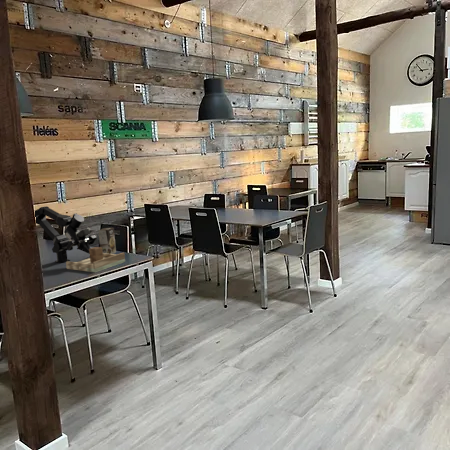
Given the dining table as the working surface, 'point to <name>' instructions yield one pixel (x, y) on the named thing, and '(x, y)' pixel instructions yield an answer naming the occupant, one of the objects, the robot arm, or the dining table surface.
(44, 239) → the dining table surface
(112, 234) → the coffee box
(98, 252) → the walnut block
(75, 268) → the trap lane
